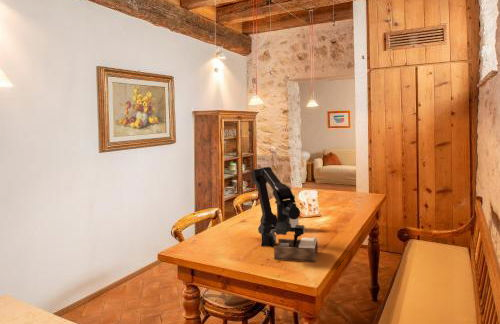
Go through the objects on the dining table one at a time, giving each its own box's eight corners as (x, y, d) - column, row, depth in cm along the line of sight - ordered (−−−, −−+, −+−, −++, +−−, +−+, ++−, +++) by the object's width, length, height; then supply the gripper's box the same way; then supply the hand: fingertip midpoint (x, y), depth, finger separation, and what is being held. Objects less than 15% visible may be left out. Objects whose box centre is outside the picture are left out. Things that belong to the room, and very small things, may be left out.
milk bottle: (297, 227, 215) (296, 193, 213) (299, 231, 208) (298, 196, 205) (284, 227, 215) (283, 194, 213) (286, 232, 208) (284, 196, 205)
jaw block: (279, 254, 172) (279, 245, 172) (281, 251, 176) (280, 242, 175) (287, 254, 171) (287, 246, 170) (289, 251, 175) (289, 243, 174)
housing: (274, 259, 169) (273, 247, 168) (279, 249, 180) (278, 238, 180) (315, 261, 164) (315, 249, 163) (317, 252, 175) (317, 240, 175)
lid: (298, 247, 165) (298, 243, 165) (301, 239, 176) (301, 235, 176) (314, 248, 163) (314, 244, 163) (316, 239, 175) (316, 235, 174)
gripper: (259, 218, 166) (260, 252, 168) (301, 219, 161) (302, 254, 163) (265, 212, 177) (266, 243, 178) (304, 213, 172) (305, 245, 174)
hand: (284, 247), depth 173 cm, fingers open, 9 cm apart
